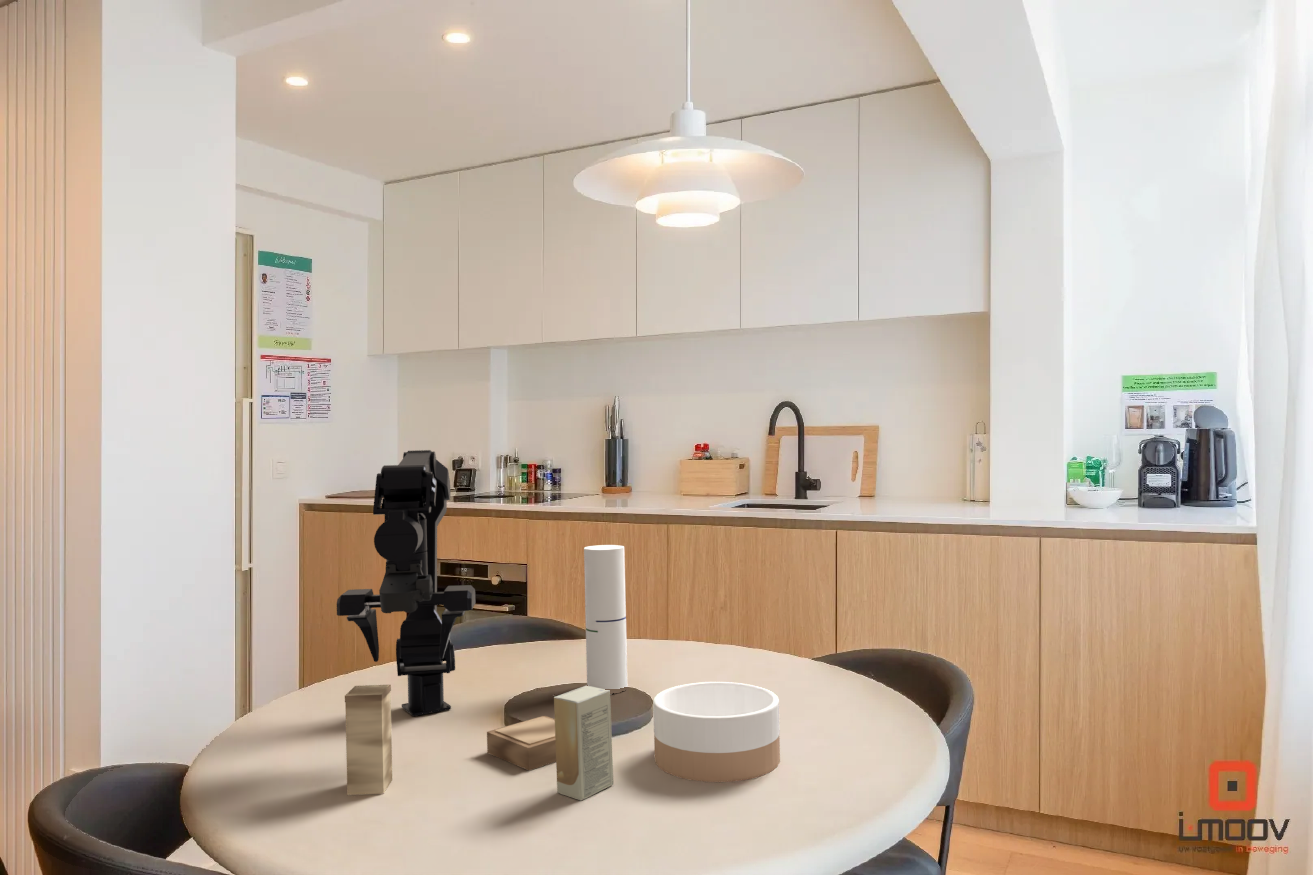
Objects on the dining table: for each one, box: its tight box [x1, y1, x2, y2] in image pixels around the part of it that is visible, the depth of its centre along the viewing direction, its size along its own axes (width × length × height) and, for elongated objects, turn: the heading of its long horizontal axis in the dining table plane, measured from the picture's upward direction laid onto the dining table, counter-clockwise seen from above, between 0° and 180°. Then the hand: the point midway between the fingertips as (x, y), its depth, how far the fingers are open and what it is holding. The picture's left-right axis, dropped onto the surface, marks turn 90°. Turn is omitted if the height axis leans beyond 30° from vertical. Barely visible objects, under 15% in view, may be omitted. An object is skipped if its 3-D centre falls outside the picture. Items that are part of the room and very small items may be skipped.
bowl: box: [652, 681, 781, 783], centre depth 122 cm, size 17×17×8 cm
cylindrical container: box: [583, 544, 629, 689], centre depth 158 cm, size 7×7×25 cm
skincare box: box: [553, 685, 614, 801], centre depth 112 cm, size 6×4×12 cm
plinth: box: [486, 715, 556, 772], centre depth 126 cm, size 10×10×3 cm
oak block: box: [344, 684, 393, 796], centre depth 114 cm, size 5×5×12 cm
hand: (409, 659), depth 129 cm, fingers open, 9 cm apart
